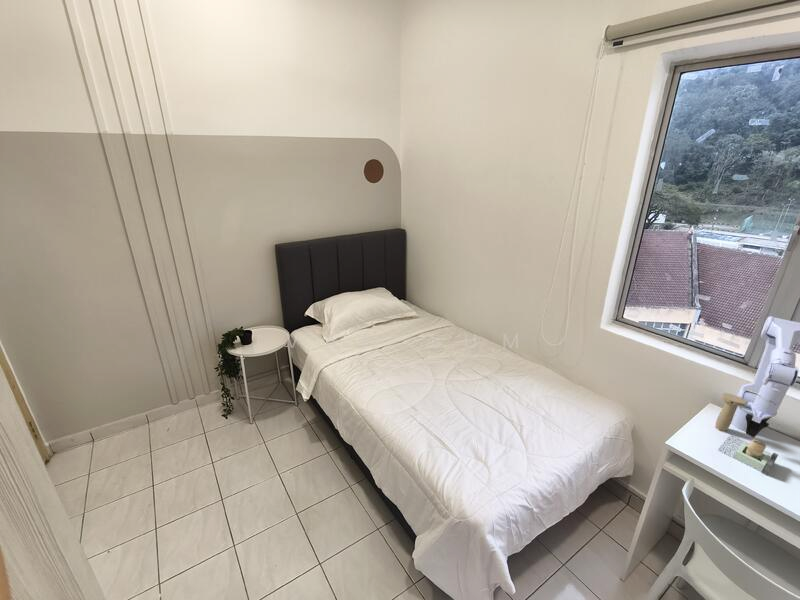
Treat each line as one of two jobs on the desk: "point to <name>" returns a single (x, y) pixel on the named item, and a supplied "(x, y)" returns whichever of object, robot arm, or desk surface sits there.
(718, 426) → the handle
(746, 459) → the collar block
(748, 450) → the dowel
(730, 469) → the desk surface
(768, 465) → the board
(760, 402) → the robot arm
